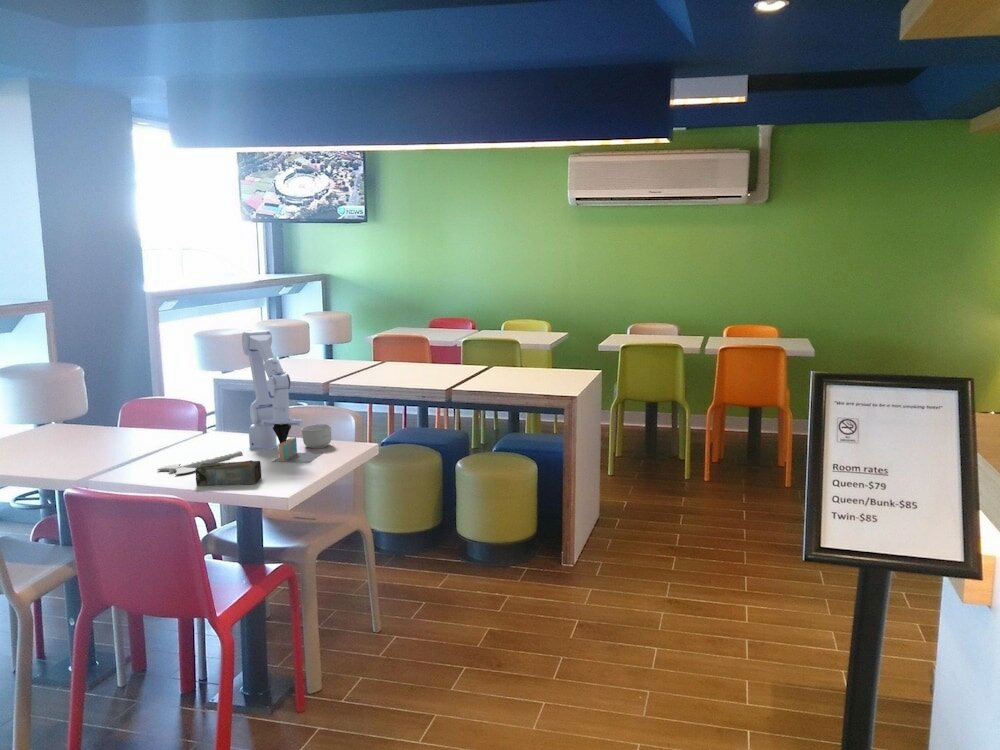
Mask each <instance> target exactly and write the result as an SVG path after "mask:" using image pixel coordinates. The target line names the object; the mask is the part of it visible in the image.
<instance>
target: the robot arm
mask: <svg viewBox="0 0 1000 750" xmlns="http://www.w3.org/2000/svg"><path fill="white" fill-rule="evenodd" d="M272 343H273V336H272V332H271V331H270V330H269V329H263V330H251V331H246V330H245V331H243V332H242V334H241V344H242V350H243V354H244V355H246V356H248V360H249V364H250V365H249V366H250V369H251V370H250V371H251V376H252V382H253V389H254V394H255V399H254V401H253V402H251V403H250V406H249V417H250V422H251V423H252V424H251V425H250V426H249V428H248V440H249V442H248V443H249V447H248V449H249V450H250V449H251V450H252V449H253V450H274V449H276V448H278V447H279V444H281V443H282V442H284V441H286V440H288V435H289V432H290V430H291V428H292V426H297V427H298V426H299V427H301V426H302V425H303V419H297V418H291V417H290V414H291V413H290V412H291V411H290V398H289V397H290V396H289V395H290V394H289V390H290V389H291V387H292V385H291V384H292V382H291V377H290V374H289V373H287V372H286V371H284V370H283V368H282V365H281V363H280V361H279V360H278V359H277V358H275V356H274V352H273V350H272ZM266 375H267V376H266ZM267 378H268V381H267ZM269 392H270V394H269ZM270 396H271V397H270ZM277 439H278V441H277ZM277 442H279V443H277Z"/></svg>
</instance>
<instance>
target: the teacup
mask: <svg viewBox="0 0 1000 750" xmlns="http://www.w3.org/2000/svg"><path fill="white" fill-rule="evenodd" d="M300 429H301V436H302V441H303V444H304V446H305V447H307V448H309V449H324V448H326V447H328V446H329V444H330V443H331V442H332V426H331V424H328V423H321V424H320V423H315V424H310V425H305V426H303V427H302V428H300Z"/></svg>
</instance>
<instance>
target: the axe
mask: <svg viewBox="0 0 1000 750" xmlns="http://www.w3.org/2000/svg"><path fill="white" fill-rule="evenodd" d="M240 456H243V452H242V451H241V450H238V451H236V452H233V453H228V454H224V455H220V456H216V457H212V458H206V459H204V460H203V459H202V460H200V461H195V462H191V463H188V464H187V463H186V464H184V465H183V464H181V463H177V464H176V463H175V464H171V465H166V466H162V467H160V468H157V469H156V470H157V471H162V472H163V471H165V472H167V471H168V473H169V472H170V473H169V474H174V475H184V474H188V473H193V472H195V469H196V468H197V467H198V466H199V465H201V464H203V463H213V462H215V463H219V462H223V461H226V460H225V459H228V460H230V459H229V458H232V459H233V458H235V457H240ZM222 460H223V461H222ZM218 461H219V462H218ZM194 467H196V468H194ZM173 472H174V473H173Z"/></svg>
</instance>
